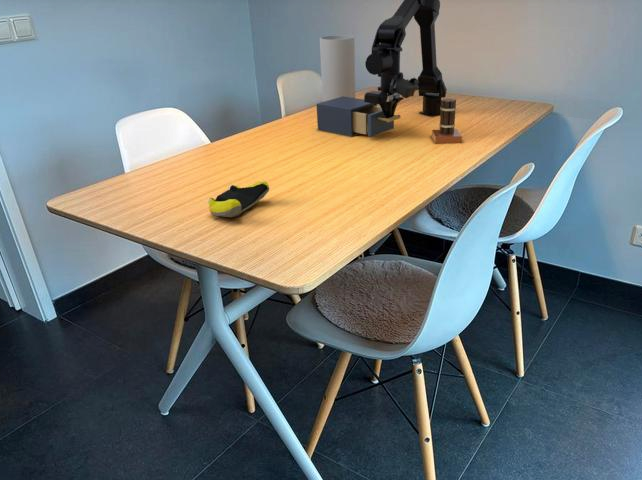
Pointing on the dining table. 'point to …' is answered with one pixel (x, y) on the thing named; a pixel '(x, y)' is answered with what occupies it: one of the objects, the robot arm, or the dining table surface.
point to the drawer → (372, 121)
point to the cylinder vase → (337, 66)
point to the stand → (446, 137)
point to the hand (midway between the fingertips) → (389, 121)
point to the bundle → (447, 116)
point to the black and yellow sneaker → (237, 199)
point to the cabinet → (339, 115)
